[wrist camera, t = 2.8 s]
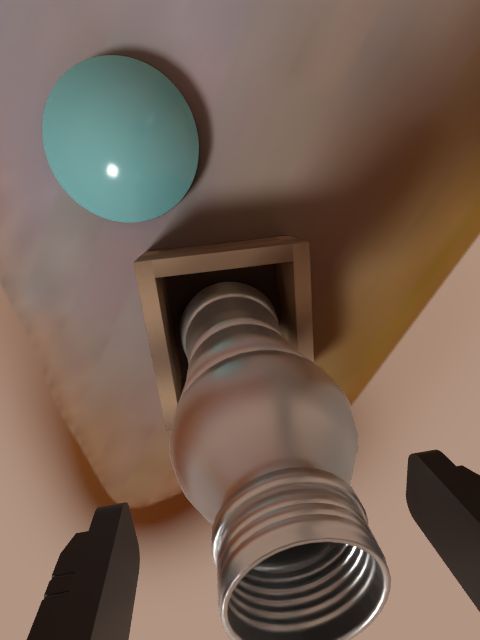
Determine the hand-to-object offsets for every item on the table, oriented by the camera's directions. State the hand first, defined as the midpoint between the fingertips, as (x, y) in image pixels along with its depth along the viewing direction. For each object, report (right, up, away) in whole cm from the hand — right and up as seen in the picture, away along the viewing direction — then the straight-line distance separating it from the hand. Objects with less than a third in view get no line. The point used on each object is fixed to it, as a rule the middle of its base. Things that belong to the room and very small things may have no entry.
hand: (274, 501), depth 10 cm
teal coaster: (-8, +16, +12) cm, 22 cm away
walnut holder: (-2, +5, +16) cm, 17 cm away
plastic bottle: (-2, +5, +16) cm, 18 cm away
